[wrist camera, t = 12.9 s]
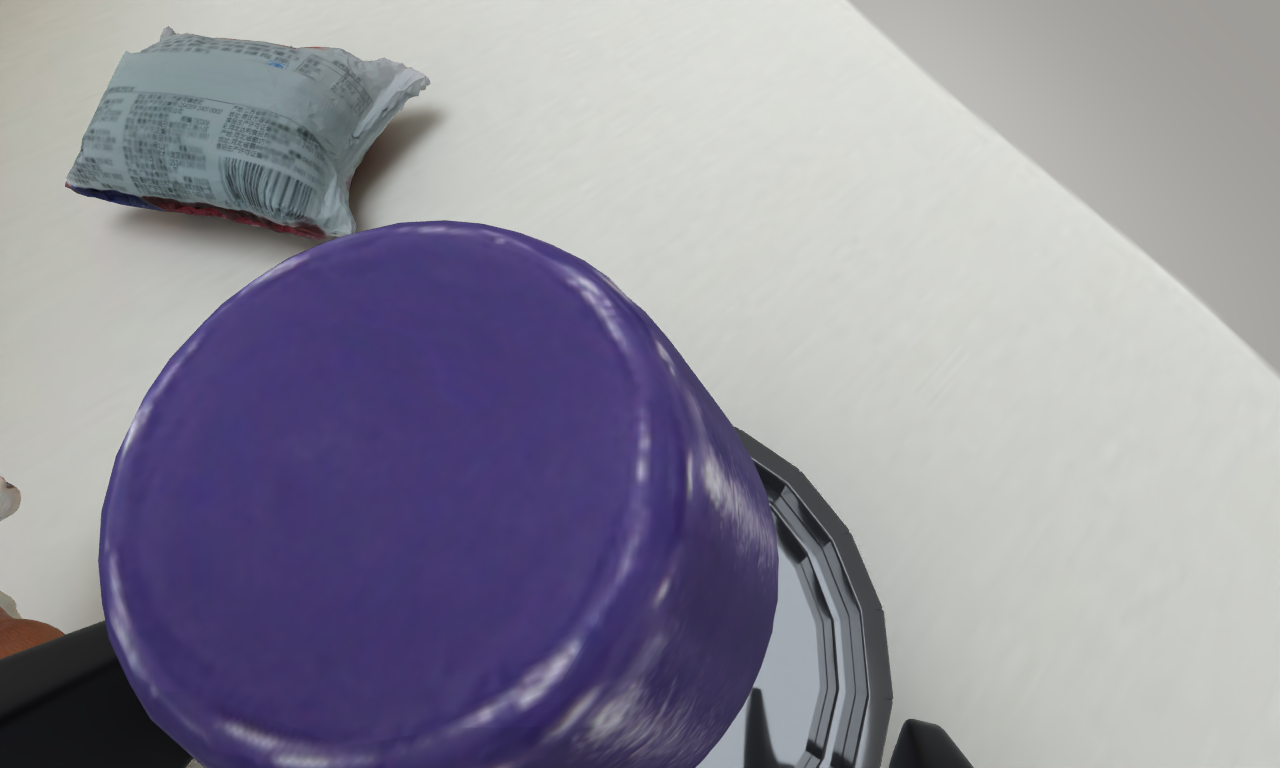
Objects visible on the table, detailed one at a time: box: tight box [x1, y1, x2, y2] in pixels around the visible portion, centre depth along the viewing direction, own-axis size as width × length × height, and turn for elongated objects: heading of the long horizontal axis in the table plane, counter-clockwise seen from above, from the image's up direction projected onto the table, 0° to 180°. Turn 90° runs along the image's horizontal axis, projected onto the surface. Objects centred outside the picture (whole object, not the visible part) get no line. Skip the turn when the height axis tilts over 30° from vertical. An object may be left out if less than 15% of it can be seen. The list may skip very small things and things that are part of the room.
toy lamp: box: [98, 220, 779, 768], centre depth 11 cm, size 5×5×17 cm
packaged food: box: [65, 26, 430, 239], centre depth 25 cm, size 9×12×5 cm
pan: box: [696, 427, 893, 768], centre depth 17 cm, size 13×13×3 cm
